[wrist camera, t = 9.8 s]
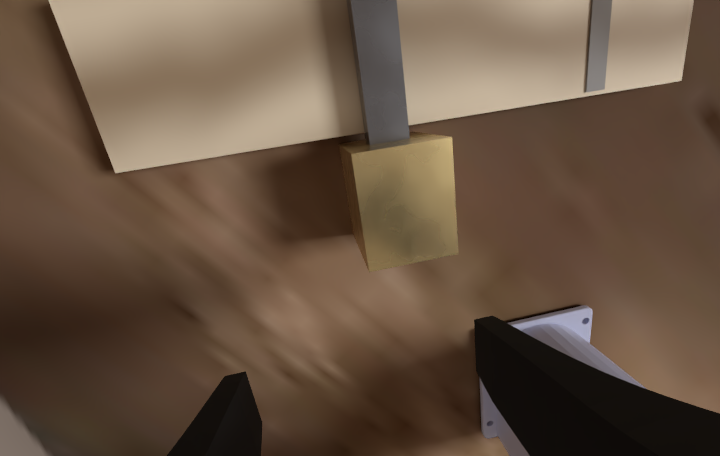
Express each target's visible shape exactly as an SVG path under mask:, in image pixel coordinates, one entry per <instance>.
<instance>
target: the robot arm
mask: <svg viewBox="0 0 720 456" xmlns="http://www.w3.org/2000/svg"><path fill="white" fill-rule="evenodd" d="M592 313H593V312H592V309H591V308H589V307H588V306H579V307H575V308H570V309H566V310H562V311H557V312H553V313H549V314H544V315H540V316H535V317H531V318H527V319H522V320H518V321H514V322H509V323H506V322H504V321H502V320H500V319H498V318H496V317H494V316H489V317H484V318H480V319H476V320H474V323H475V348H476V371H477V373H478V375H479V377H480V402H481V429H482V434H483V436H484V437H485V438H488V439H489V438H493V437H497V436H498V437H499V439H500V441H501V442H502V444H503V445H504V447H505V449H506V450H507V452H508V454H509V455H510V456H720V414H719V413H716V412H713V411H709V410H706V409H703V408H700V407H697V406H694V405H691V404H688V403H685V402H682V401H679V400H676V399H673V398H670V397H667V396H664V395H661V394H658V393H656V392H653V391H650V390H647V389H646V388H645V387H644V386H642V385H641V384H640V383H638V382H637V381H636V380H635V379H633V378H632V377H631V376H630V375H628V374H627V373H626V372H625V371H623V370H622V369H621V368H620V367H618V366H617V365H616V364H615V363H613V362H612V361H611V360H610V359H608V358H607V357H606V356H605V355H603V354H602V353H601V352H600V351H598V350H597V349H596V348H595V347H593V346H592V345H591V344H590V335H591V324H592ZM261 441H262V421H261V418H260V415H259V412H258V408H257V405H256V402H255V399H254V396H253V393H252V390H251V387H250V384H249V381H248V377H247V374H246V372H241V373H237V374H233V375H228V376H225V377H224V378H223V380H222V381H221V382H220V384H219V385H218V386H217V388H216V389H215V391H214V392H213V393H212V395H211V396H210V398H209V399H208V400H207V402H206V403H205V405H204V406H203V408H202V409H201V410H200V412H199V413H198V415H197V416H196V417H195V419H194V420H193V421H192V423H191V424H190V426H189V427H188V428H187V430H186V431H185V432H184V434H183V435H182V436H181V438H180V439H179V441H178V442H177V443H176V445H175V446H174V447H173V448H172V450H171V451H170V452H169V453H168V455H167V456H261Z"/></svg>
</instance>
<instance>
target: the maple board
mask: <svg viewBox="0 0 720 456" xmlns="http://www.w3.org/2000/svg"><path fill="white" fill-rule="evenodd" d="M48 1H49V3H50V6H51V8H52V11H53V14H54V16H55V19H56V21H57V24H58V27H59V29H60V32H61V34H62V37H63V39H64V42H65V45H66V47H67V50H68V52H69V55H70V58H71V60H72V63H73V65H74V68H75V70H76V73H77V76H78V78H79V81H80V83H81V86H82V88H83V91H84V94H85V96H86V99H87V101H88V104H89V107H90V109H91V112H92V114H93V117H94V119H95V122H96V125H97V127H98V130H99V132H100V135H101V138H102V140H103V143H104V145H105V148H106V150H107V153H108V156H109V158H110V161H111V163H112V166H113V168H114V171H115V173H120V172H126V171H132V170H138V169H145V168H151V167H157V166H163V165H169V164H175V163H181V162H187V161H194V160H200V159H206V158H212V157H218V156H224V155H230V154H236V153H243V152H249V151H255V150H261V149H267V148H273V147H279V146H285V145H292V144H298V143H304V142H310V141H316V140H322V139H328V138H334V137H341V136H347V135H353V134H359V133H365V132H364V125H363V118H362V110H361V103H360V96H359V88H358V81H357V74H356V66H355V59H354V52H353V44H352V37H351V30H350V22H349V15H348V8H347V1H346V0H48ZM693 2H694V0H397V9H398V19H399V30H400V41H401V51H402V62H403V72H404V83H405V93H406V104H407V115H408V125H414V124H420V123H426V122H432V121H438V120H445V119H451V118H457V117H463V116H469V115H475V114H481V113H487V112H494V111H500V110H506V109H512V108H518V107H524V106H530V105H536V104H543V103H549V102H555V101H561V100H567V99H573V98H579V97H585V96H592V95H598V94H604V93H610V92H616V91H622V90H628V89H634V88H641V87H647V86H653V85H659V84H665V83H671V82H677V81H681V80H682V73H683V67H684V60H685V54H686V48H687V41H688V35H689V28H690V22H691V15H692V9H693Z"/></svg>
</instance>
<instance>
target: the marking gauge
mask: <svg viewBox="0 0 720 456" xmlns="http://www.w3.org/2000/svg"><path fill="white" fill-rule="evenodd" d="M346 1H347V8H348V15H349V22H350V30H351V37H352V44H353V52H354V59H355V66H356V74H357V81H358V88H359V96H360V103H361V110H362V118H363V125H364V132H365V139H366V140H360V141H354V142H348V143H342V144H339V149H340V156H341V162H342V168H343V174H344V180H345V186H346V192H347V199H348V205H349V211H350V217H351V223H352V229H353V235H354V237H355V239H356V242H357V244H358V247H359V249H360V251H361V254H362V256H363V259H364V261H365V263H366V266H367V268H368V271H369V272H372V271H377V270H382V269H387V268H392V267H397V266H401V265H406V264H411V263H416V262H421V261H426V260H431V259H436V258H441V257H445V256H450V255H455V254H458V238H457V220H456V201H455V183H454V165H453V146H452V137H448V136H441V135H434V134H427V133H420V132H409V125H408V115H407V104H406V93H405V83H404V72H403V62H402V51H401V41H400V30H399V19H398V9H397V0H346Z"/></svg>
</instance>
